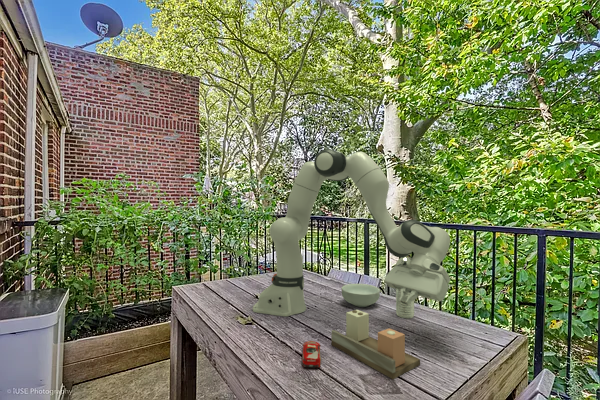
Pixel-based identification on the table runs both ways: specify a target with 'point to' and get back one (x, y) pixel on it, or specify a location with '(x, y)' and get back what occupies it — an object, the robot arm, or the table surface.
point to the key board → (372, 355)
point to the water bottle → (401, 308)
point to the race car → (311, 354)
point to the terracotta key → (392, 345)
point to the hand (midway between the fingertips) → (403, 303)
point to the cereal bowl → (360, 294)
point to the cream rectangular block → (357, 325)
